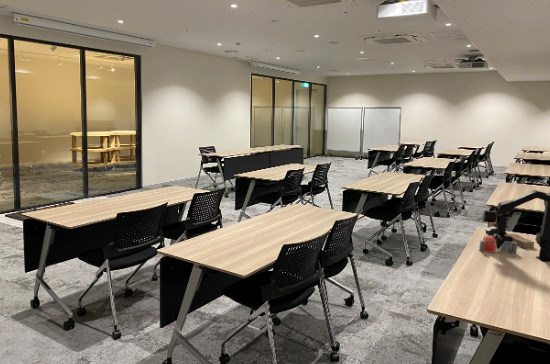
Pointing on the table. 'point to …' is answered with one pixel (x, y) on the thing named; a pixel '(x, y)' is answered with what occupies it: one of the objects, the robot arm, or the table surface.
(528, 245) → the brick
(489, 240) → the red white patterned box
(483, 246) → the door frame
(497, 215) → the robot arm
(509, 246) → the door
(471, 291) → the table surface
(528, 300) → the table surface
